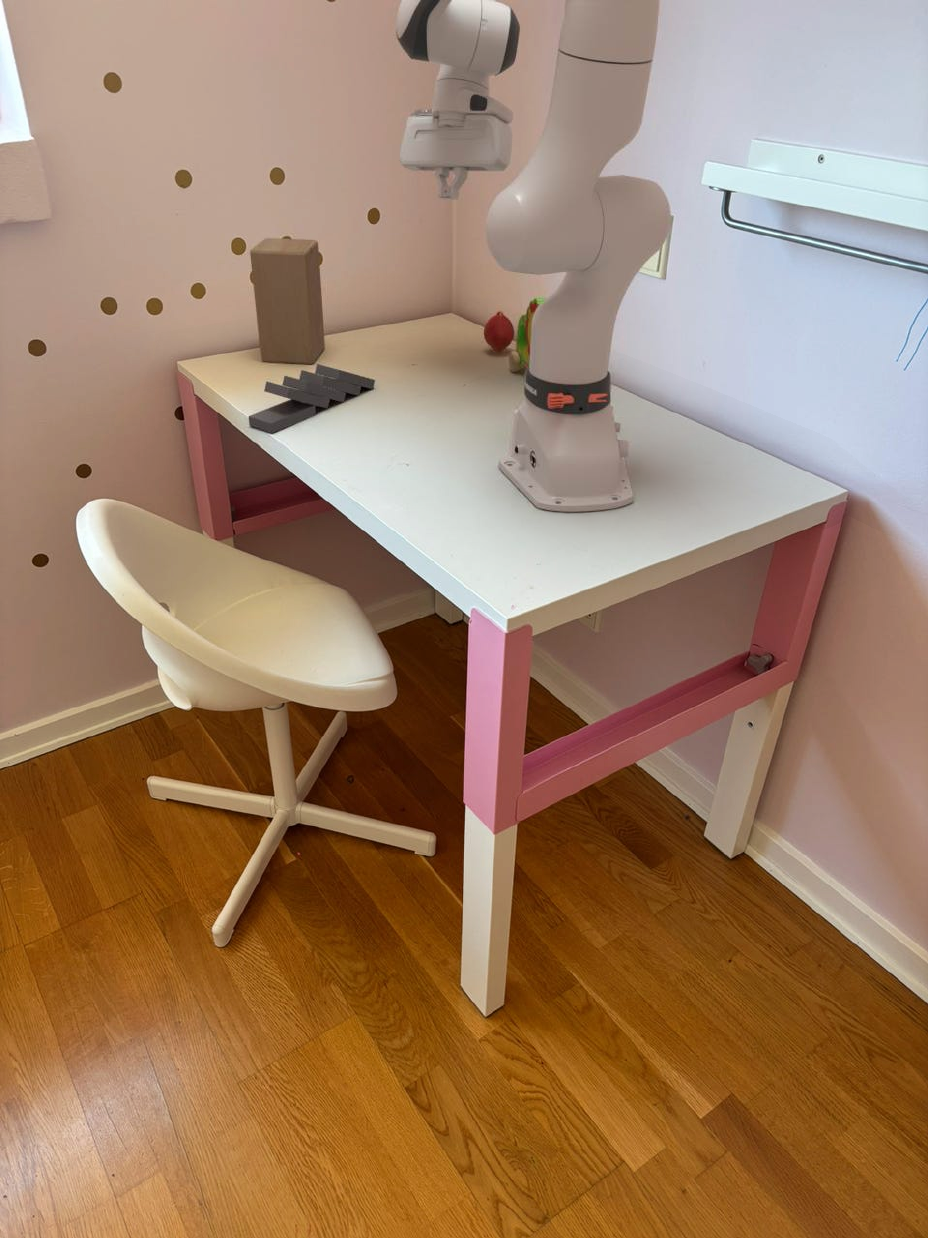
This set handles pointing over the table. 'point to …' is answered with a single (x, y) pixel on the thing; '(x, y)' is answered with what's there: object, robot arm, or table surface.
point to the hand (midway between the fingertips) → (447, 198)
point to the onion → (499, 332)
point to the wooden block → (288, 300)
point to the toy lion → (524, 338)
